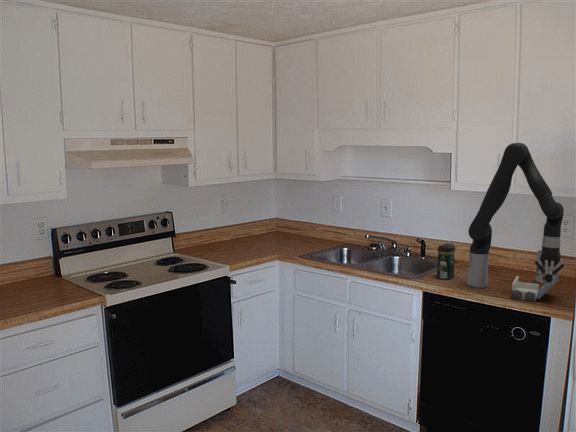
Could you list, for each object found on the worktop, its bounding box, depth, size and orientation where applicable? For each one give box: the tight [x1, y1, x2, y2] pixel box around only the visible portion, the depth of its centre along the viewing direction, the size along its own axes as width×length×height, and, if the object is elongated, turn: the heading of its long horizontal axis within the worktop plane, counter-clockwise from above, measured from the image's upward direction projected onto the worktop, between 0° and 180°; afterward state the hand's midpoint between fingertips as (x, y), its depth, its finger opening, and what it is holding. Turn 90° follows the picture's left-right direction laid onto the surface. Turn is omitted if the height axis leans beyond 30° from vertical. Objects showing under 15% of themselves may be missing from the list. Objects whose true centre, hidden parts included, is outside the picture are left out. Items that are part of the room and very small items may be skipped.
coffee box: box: [534, 250, 561, 284], centre depth 270 cm, size 9×6×16 cm
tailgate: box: [536, 275, 557, 300], centre depth 243 cm, size 1×16×10 cm
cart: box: [510, 275, 540, 302], centre depth 248 cm, size 10×17×7 cm, turn 150°
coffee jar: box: [436, 243, 456, 280], centre depth 279 cm, size 10×8×19 cm
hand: (548, 281), depth 243 cm, fingers closed
